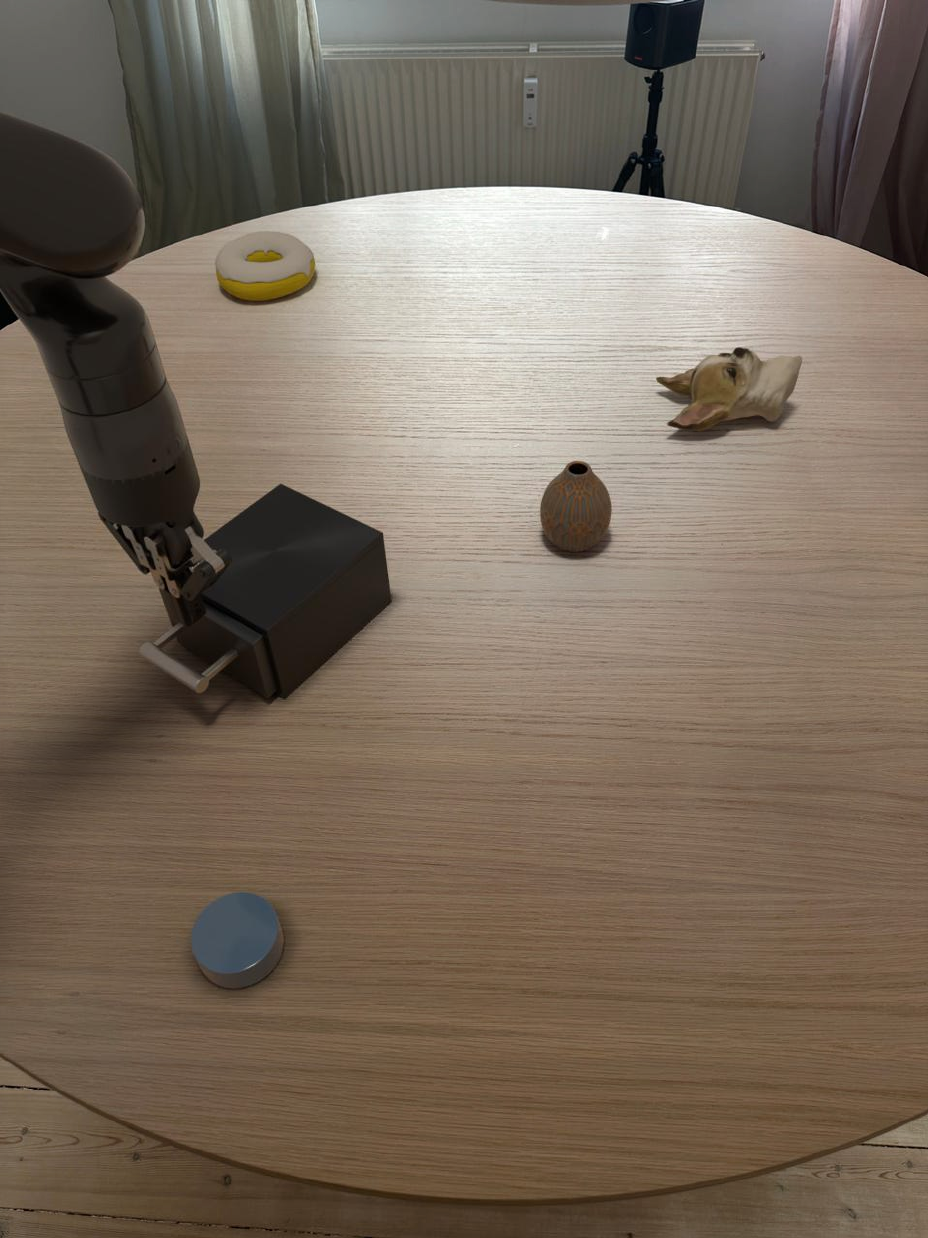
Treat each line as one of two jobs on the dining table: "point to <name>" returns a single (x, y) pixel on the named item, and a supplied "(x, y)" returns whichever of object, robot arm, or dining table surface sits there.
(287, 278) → the donut
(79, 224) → the robot arm
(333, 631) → the cabinet
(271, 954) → the cylinder
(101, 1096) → the dining table surface
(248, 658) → the drawer
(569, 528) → the vase
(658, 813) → the dining table surface
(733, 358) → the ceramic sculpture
